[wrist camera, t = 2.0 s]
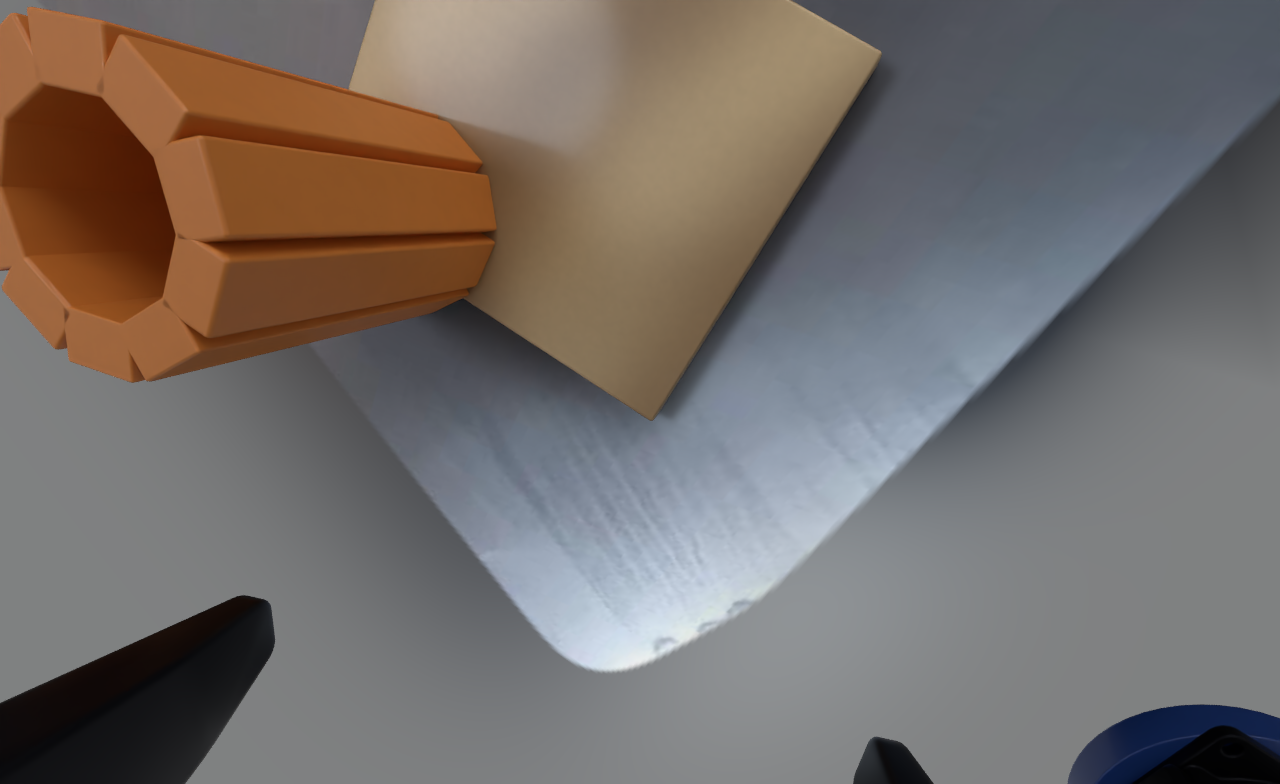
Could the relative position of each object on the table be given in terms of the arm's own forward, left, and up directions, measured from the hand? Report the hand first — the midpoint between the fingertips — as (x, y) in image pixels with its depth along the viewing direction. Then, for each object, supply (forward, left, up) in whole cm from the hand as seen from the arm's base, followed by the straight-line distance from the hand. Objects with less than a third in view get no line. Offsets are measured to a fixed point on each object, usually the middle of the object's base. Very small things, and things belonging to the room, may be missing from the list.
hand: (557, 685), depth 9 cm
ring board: (+8, -5, -12) cm, 16 cm away
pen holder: (+12, -1, -11) cm, 16 cm away
